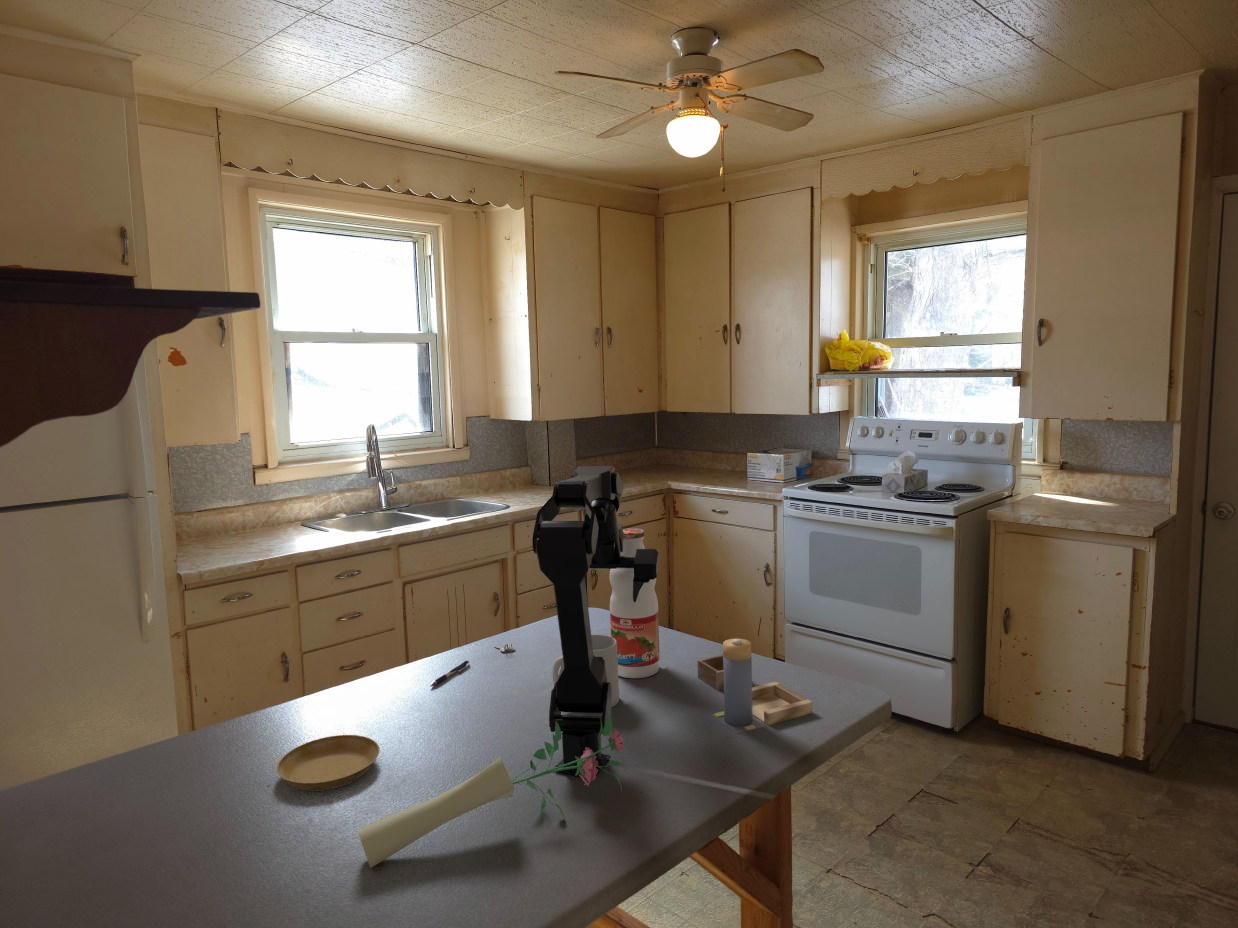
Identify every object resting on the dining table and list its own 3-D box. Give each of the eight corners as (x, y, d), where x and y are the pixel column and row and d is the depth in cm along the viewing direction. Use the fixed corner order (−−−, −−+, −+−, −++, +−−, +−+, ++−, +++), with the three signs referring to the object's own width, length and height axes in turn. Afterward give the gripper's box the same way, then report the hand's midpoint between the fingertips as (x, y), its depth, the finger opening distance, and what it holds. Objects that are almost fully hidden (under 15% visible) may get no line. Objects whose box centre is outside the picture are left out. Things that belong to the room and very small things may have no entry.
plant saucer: (399, 754, 127) (398, 738, 126) (343, 804, 113) (342, 787, 112) (319, 745, 131) (317, 730, 130) (255, 793, 117) (254, 776, 116)
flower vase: (383, 900, 103) (617, 774, 117) (393, 933, 92) (650, 789, 106) (352, 813, 104) (588, 698, 118) (358, 834, 93) (618, 705, 107)
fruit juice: (667, 665, 159) (663, 527, 156) (647, 682, 151) (642, 537, 147) (625, 658, 164) (620, 524, 160) (603, 675, 155) (598, 533, 152)
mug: (609, 688, 149) (606, 631, 148) (626, 705, 141) (624, 645, 140) (547, 700, 145) (544, 641, 143) (561, 719, 137) (559, 657, 136)
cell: (747, 728, 130) (746, 646, 128) (720, 723, 132) (719, 643, 130) (755, 716, 134) (754, 637, 132) (729, 712, 136) (727, 634, 134)
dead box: (718, 693, 145) (717, 672, 144) (697, 680, 151) (697, 660, 151) (750, 685, 148) (749, 664, 147) (729, 673, 154) (728, 653, 154)
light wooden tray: (768, 728, 131) (768, 713, 130) (733, 706, 140) (733, 691, 139) (812, 716, 134) (812, 701, 134) (776, 695, 143) (775, 681, 143)
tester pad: (737, 737, 128) (737, 732, 128) (710, 717, 135) (710, 713, 135) (767, 728, 131) (767, 724, 130) (739, 710, 138) (739, 706, 138)
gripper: (658, 504, 145) (664, 573, 153) (558, 505, 148) (568, 573, 156) (653, 540, 135) (659, 612, 143) (545, 540, 138) (557, 610, 146)
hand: (610, 600), depth 147 cm, fingers open, 9 cm apart
